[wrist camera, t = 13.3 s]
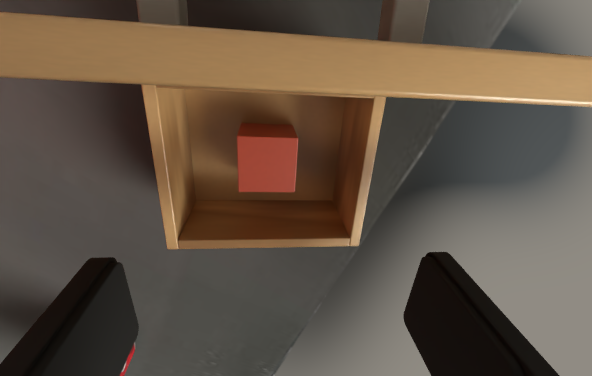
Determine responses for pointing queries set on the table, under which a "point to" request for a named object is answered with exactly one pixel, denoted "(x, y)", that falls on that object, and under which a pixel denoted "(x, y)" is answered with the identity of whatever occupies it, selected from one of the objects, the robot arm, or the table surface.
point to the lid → (285, 58)
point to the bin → (224, 170)
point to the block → (266, 157)
